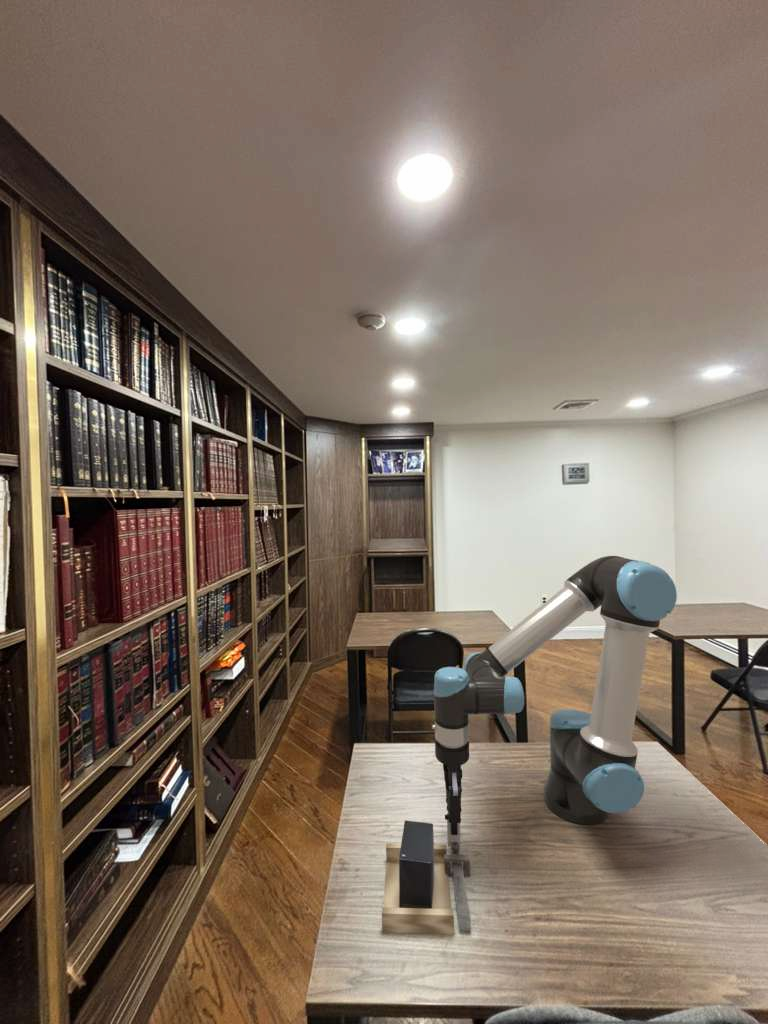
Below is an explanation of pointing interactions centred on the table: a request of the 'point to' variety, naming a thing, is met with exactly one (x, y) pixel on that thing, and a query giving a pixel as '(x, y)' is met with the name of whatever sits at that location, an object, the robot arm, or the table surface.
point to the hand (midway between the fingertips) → (453, 843)
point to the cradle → (441, 912)
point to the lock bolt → (460, 891)
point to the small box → (416, 865)
